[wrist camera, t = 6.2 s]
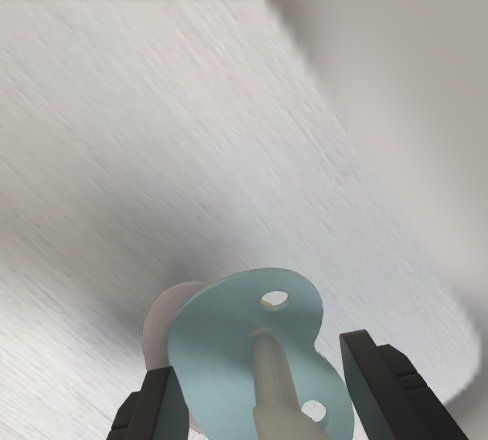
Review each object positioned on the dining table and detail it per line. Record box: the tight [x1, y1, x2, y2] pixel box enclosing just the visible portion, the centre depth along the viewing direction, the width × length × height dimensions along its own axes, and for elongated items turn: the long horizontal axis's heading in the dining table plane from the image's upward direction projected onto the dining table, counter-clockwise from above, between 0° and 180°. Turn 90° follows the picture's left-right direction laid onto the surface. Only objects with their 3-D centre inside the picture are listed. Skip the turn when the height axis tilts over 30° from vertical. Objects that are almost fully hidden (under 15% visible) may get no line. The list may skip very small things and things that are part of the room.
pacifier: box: [142, 268, 354, 440], centre depth 8 cm, size 7×6×6 cm
